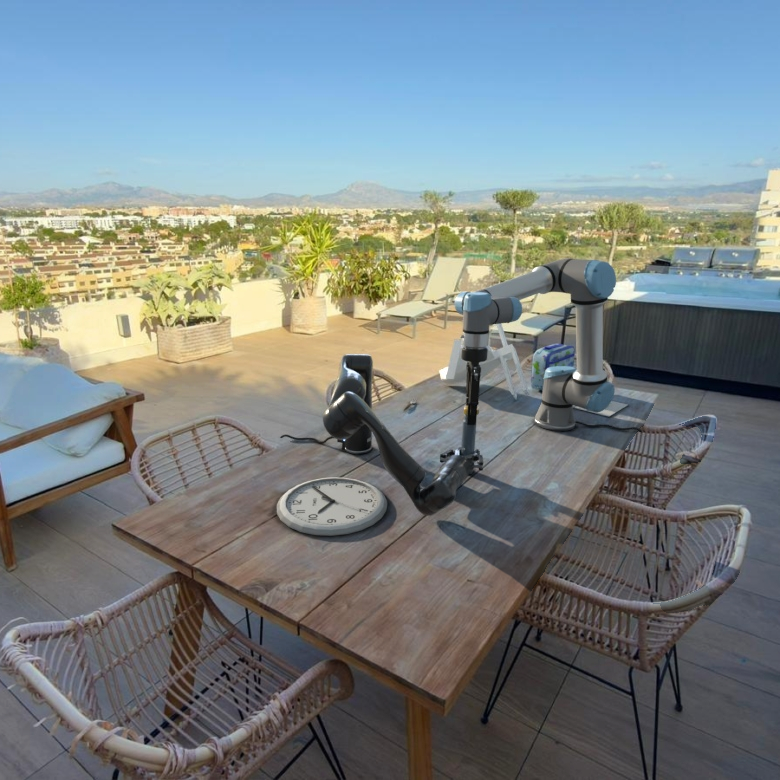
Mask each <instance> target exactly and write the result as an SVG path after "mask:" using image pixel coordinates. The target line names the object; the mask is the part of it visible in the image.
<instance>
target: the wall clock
mask: <svg viewBox="0 0 780 780" xmlns="http://www.w3.org/2000/svg"><path fill="white" fill-rule="evenodd" d="M387 509H388V500H387V498H386V496H385V494H384V493H383V492H382V491H381V490H380V489H379V488H377V487H376V486H374V485H372V484H371V483H369V482H365V481H362V480H359V479H355V478H349V477H338V476H337V477H335V476H333V477H332V476H331V477H322V478H317V479H312V480H307V481H305V482H302V483H299V484H297V485H295V486H293V487H292V488H290V489H288V490H287V491H286V492H285V493H284V494H283V495H281V496H280V498H279V499H278V502H277V503H276V515H277V517H278V518H279V520H280V521H281V522H282V523H283V524H285V525H286V526H287V527H288V528H290V529H293V530H295V531H297V532H299V533H303V534H308V535H312V536H327V537H328V536H329V537H331V536H332V537H333V536H342V535H350V534H352V533H356V532H361V531H363V530H366V529H368V528H369V527H372V526H373V525H375V524H376V523H378V522H379V521H380V520H381V519H382V518H383V517H384V516H385V514H386V512H387Z"/></svg>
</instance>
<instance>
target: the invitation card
mask: <svg viewBox="0 0 780 780" xmlns="http://www.w3.org/2000/svg"><path fill="white" fill-rule="evenodd" d="M628 406H629V404H627V403H623V402H618V401H614V400H612V401H611V402H610V404H609V405H608V407H607V408H606V409H604V410H603V411H601V412H593V411H587V410H586V409H583V408H580V407H577V406H574V407H573V409H575V410H581V411H584V412H587V413H593V414H596V415H600V416H604V417H608V418H609V417H611V416H613V415H614V414H616V413H617V412H619V411H621V410H623V409H624V408H626V407H628Z"/></svg>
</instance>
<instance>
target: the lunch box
mask: <svg viewBox="0 0 780 780" xmlns="http://www.w3.org/2000/svg"><path fill="white" fill-rule="evenodd" d="M575 352H576V351H575V346H573V345H568V344H562V343H553V344H550V345H547V346H546V345H545V346H544V347H541V348H538V349H537V350H536V351H535V352H534V354H533V357H532V362H531V371H530V372H531V374H530V387H531V389H533V390H539V391H543V380H544V379H543V378H544V375H545V370H546V369H547V368H549V367H555V366H570V367H574V363H575Z"/></svg>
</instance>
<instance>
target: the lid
mask: <svg viewBox="0 0 780 780" xmlns="http://www.w3.org/2000/svg"><path fill="white" fill-rule="evenodd" d="M467 411H468V405H467V406H466V405H464V406H463V412H462V413H463V414H464V415H465V414H466V415H467ZM479 414H480V407H479V406H477V416H478V415H479Z"/></svg>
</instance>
